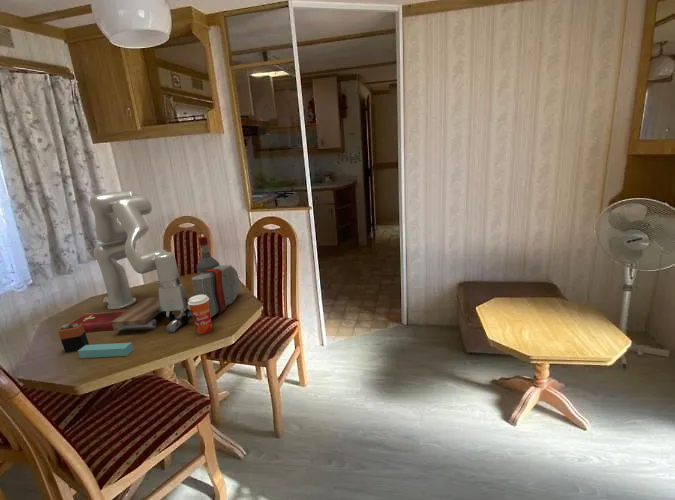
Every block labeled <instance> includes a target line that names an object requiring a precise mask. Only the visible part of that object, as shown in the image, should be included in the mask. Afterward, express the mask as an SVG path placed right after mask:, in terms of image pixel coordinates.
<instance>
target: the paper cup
mask: <svg viewBox="0 0 675 500" xmlns="http://www.w3.org/2000/svg"><path fill="white" fill-rule="evenodd" d="M208 300H209V298H208V296H206V295H196V296H194V295H193V296H191V297H189V298H188V301H189V302H188V304H189V306H190V310H191V313H192V315H191V316H192V319H193V322H194V326H195V329H196V332H197V334H199V335H205V334H209V333H210V332H211V331H212V330H213V325H212V317H211V316H210V309H209V302H208Z"/></svg>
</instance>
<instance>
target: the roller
mask: <svg viewBox="0 0 675 500" xmlns="http://www.w3.org/2000/svg"><path fill="white" fill-rule="evenodd" d="M187 315H188V319H189V318H190V317H191V316H192V313H191V309H190V311H189V312H188V313H187ZM182 316H183V315H182V313H181V312H180V314H178V315H177V316H176V317H175V319H174V320H173V321H172V322H170V323H168V324H167V325H166V326H165V332H166V333H168V334H174V333H175V332H176V331H178V329H179V328H180V327H181V326H183V321H182Z"/></svg>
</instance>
